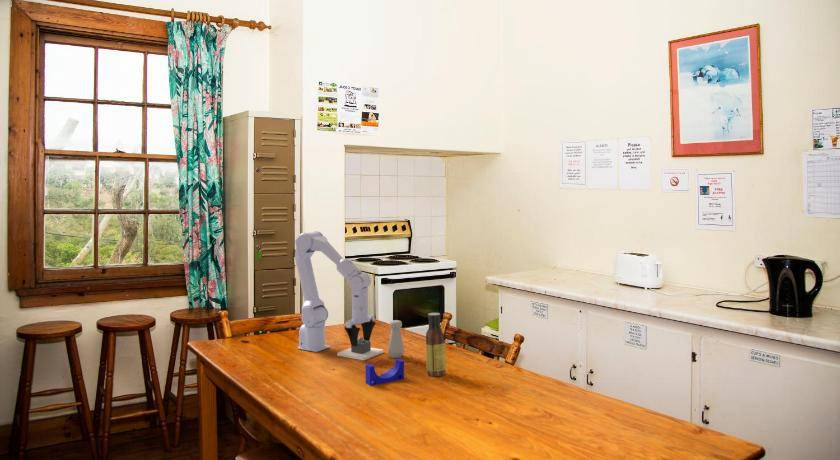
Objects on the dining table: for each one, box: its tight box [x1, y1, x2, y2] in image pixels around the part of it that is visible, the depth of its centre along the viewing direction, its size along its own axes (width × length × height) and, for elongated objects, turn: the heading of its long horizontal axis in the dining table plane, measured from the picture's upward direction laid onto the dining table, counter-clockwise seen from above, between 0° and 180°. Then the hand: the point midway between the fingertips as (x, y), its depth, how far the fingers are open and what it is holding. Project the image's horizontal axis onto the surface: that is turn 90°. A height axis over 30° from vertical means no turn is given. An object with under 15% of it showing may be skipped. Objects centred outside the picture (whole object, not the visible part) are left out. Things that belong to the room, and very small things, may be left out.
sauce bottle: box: [425, 312, 447, 377], centre depth 184 cm, size 7×6×20 cm
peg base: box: [336, 336, 384, 361], centre depth 208 cm, size 12×12×6 cm
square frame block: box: [350, 339, 372, 354], centre depth 208 cm, size 5×5×4 cm
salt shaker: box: [387, 319, 405, 359], centre depth 204 cm, size 6×6×13 cm
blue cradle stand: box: [365, 358, 405, 387], centre depth 179 cm, size 12×4×6 cm, turn 121°
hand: (360, 343), depth 208 cm, fingers open, 7 cm apart
